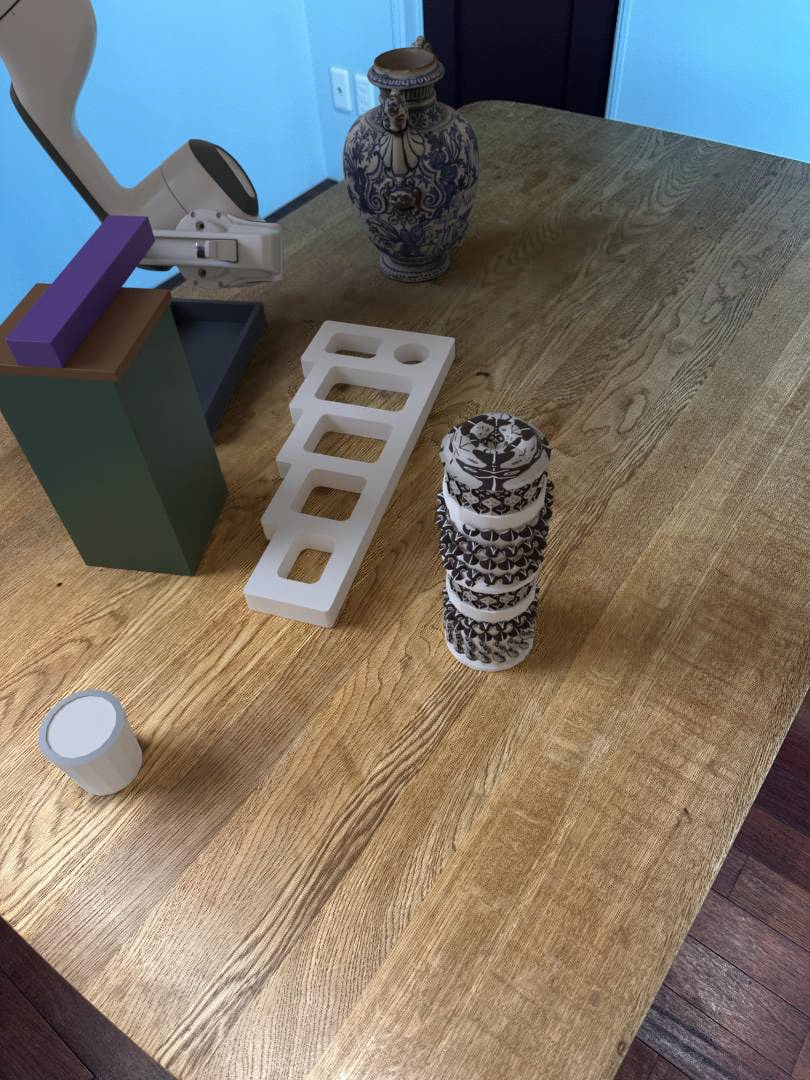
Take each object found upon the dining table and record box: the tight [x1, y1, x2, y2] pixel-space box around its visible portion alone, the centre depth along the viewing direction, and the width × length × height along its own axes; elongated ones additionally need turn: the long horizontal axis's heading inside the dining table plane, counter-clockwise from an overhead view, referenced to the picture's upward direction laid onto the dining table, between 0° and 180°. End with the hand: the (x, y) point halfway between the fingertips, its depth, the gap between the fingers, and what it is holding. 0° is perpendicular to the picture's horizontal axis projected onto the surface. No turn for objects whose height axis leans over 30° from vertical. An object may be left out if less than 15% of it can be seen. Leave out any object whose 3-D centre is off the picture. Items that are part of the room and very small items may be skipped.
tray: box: [169, 297, 268, 438], centre depth 105 cm, size 14×26×4 cm, turn 170°
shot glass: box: [37, 688, 143, 797], centre depth 68 cm, size 7×7×7 cm
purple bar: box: [5, 215, 155, 368], centre depth 71 cm, size 4×20×2 cm, turn 170°
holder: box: [242, 320, 456, 629], centre depth 93 cm, size 45×18×3 cm, turn 162°
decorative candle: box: [435, 411, 555, 673], centre depth 68 cm, size 9×9×25 cm
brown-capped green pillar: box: [0, 282, 230, 577], centre depth 79 cm, size 13×12×26 cm
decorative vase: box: [342, 35, 480, 283], centre depth 111 cm, size 21×19×28 cm
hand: (158, 247), depth 83 cm, fingers open, 8 cm apart
